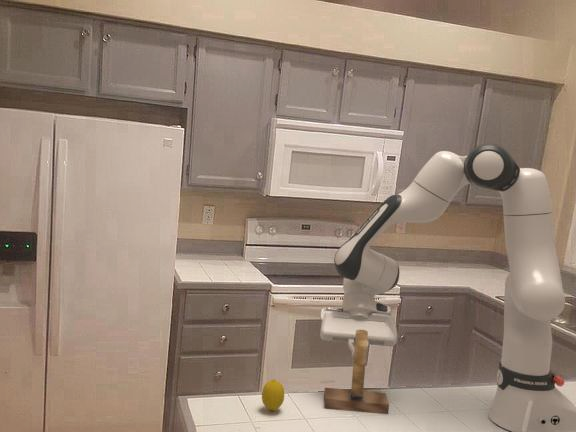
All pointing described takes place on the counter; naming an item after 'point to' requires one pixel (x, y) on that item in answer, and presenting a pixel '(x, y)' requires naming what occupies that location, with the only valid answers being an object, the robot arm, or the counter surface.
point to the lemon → (273, 394)
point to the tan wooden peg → (359, 363)
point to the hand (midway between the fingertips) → (357, 357)
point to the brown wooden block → (355, 401)
